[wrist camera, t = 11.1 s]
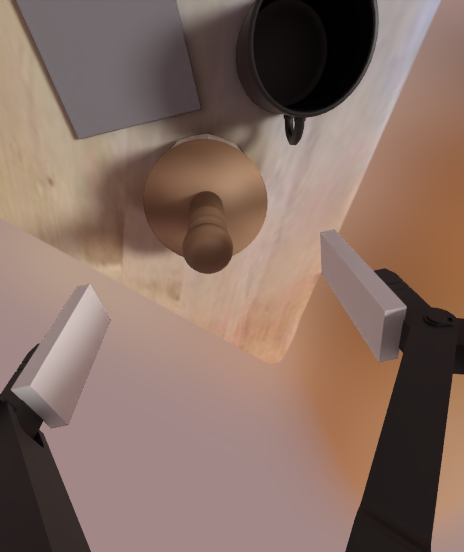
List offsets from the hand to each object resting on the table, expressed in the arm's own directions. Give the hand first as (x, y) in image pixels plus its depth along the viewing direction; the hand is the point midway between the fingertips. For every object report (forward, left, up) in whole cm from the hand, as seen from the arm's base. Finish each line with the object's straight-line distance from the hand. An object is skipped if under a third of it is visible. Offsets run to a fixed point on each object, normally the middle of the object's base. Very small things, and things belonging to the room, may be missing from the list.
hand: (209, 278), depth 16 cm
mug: (-9, +10, -21) cm, 25 cm away
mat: (-14, -5, -21) cm, 26 cm away
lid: (0, 0, -15) cm, 15 cm away
